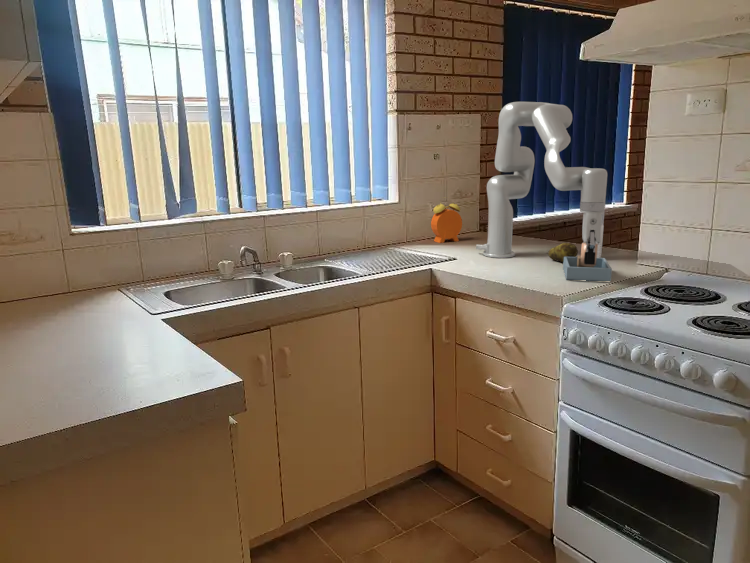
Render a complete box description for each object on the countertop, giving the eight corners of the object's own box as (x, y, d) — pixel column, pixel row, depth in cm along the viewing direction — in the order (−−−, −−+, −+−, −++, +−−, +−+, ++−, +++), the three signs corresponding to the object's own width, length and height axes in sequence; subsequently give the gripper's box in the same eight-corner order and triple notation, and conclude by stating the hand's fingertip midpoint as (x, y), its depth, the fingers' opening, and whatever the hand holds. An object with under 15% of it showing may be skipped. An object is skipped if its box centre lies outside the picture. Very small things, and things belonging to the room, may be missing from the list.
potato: (567, 259, 222) (569, 238, 220) (579, 266, 210) (581, 244, 208) (546, 259, 222) (547, 238, 220) (556, 266, 209) (558, 244, 208)
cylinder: (580, 265, 189) (582, 244, 187) (579, 262, 193) (581, 242, 192) (597, 266, 187) (598, 245, 186) (595, 263, 192) (596, 242, 190)
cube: (577, 272, 197) (578, 258, 196) (576, 269, 202) (577, 255, 201) (593, 273, 196) (594, 258, 195) (591, 270, 201) (592, 256, 199)
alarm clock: (455, 239, 269) (456, 196, 265) (462, 241, 264) (463, 197, 259) (430, 241, 264) (430, 197, 259) (436, 243, 259) (437, 198, 254)
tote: (566, 280, 189) (567, 267, 188) (562, 268, 205) (563, 256, 204) (610, 282, 185) (611, 268, 184) (603, 270, 202) (604, 258, 201)
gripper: (608, 210, 177) (603, 268, 181) (601, 204, 193) (597, 257, 197) (582, 210, 179) (578, 267, 183) (577, 204, 195) (574, 257, 199)
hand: (588, 261), depth 190 cm, fingers closed on cylinder, 5 cm apart
